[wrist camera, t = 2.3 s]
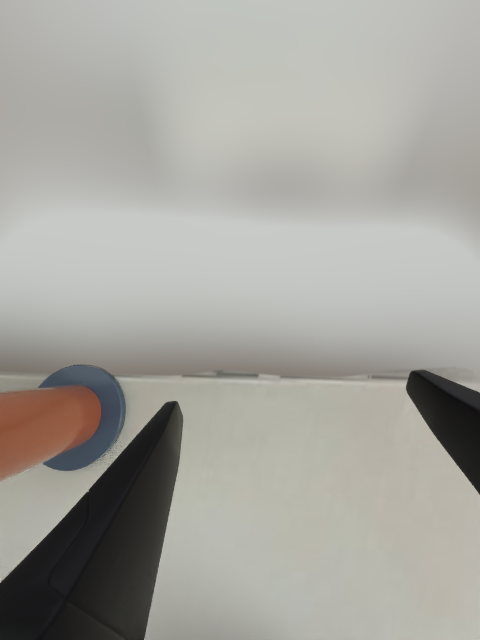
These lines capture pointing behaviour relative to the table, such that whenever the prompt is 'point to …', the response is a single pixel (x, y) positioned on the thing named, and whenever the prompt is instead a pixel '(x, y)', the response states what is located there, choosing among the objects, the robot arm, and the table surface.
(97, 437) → the plate
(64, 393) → the tumbler
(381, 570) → the table surface
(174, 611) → the table surface
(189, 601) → the table surface
